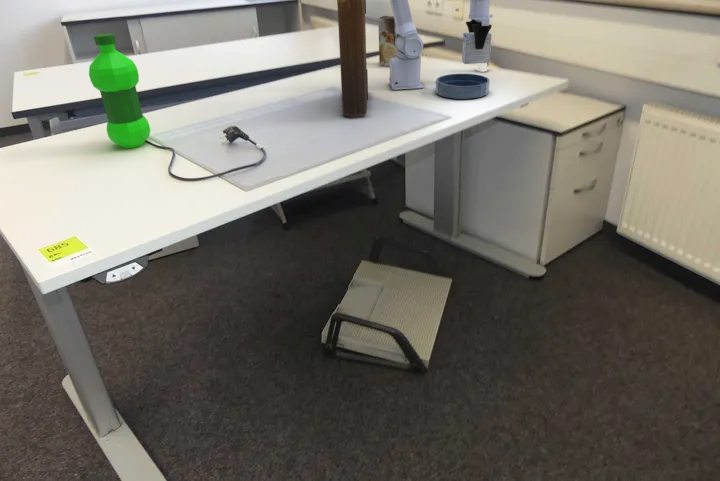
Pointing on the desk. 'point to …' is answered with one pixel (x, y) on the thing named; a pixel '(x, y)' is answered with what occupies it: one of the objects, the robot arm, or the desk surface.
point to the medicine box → (471, 53)
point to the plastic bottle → (119, 93)
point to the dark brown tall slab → (353, 56)
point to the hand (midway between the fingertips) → (476, 47)
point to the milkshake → (482, 66)
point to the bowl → (462, 86)
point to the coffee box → (387, 40)
